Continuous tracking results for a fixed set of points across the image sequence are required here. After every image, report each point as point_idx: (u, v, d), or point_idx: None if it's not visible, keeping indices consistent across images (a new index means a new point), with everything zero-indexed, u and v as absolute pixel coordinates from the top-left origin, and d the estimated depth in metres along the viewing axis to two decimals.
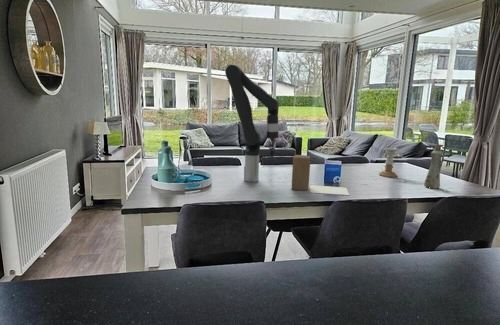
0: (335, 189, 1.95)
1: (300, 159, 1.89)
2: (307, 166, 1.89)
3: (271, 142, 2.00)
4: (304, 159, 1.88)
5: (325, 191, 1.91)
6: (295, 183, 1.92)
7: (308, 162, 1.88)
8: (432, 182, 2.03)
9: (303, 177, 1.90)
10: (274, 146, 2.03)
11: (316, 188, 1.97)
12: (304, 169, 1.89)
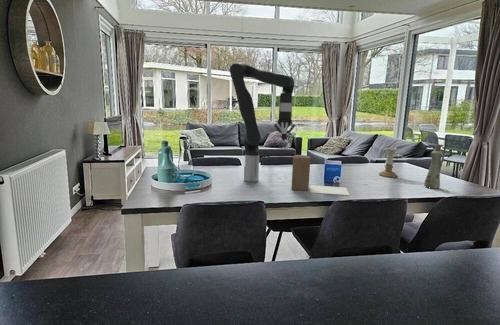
0: (335, 189, 1.95)
1: (300, 159, 1.89)
2: (307, 166, 1.89)
3: (294, 126, 1.91)
4: (304, 159, 1.88)
5: (325, 191, 1.91)
6: (295, 183, 1.92)
7: (308, 162, 1.88)
8: (432, 182, 2.03)
9: (303, 177, 1.90)
10: (287, 128, 1.93)
11: (316, 188, 1.97)
12: (304, 169, 1.89)
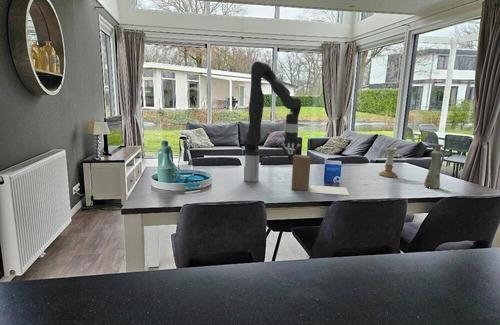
0: (335, 189, 1.95)
1: (300, 159, 1.89)
2: (307, 166, 1.89)
3: (300, 147, 1.92)
4: (304, 159, 1.88)
5: (325, 191, 1.91)
6: (295, 182, 1.92)
7: (308, 162, 1.88)
8: (432, 182, 2.03)
9: (303, 177, 1.90)
10: None
11: (316, 188, 1.97)
12: (304, 169, 1.89)
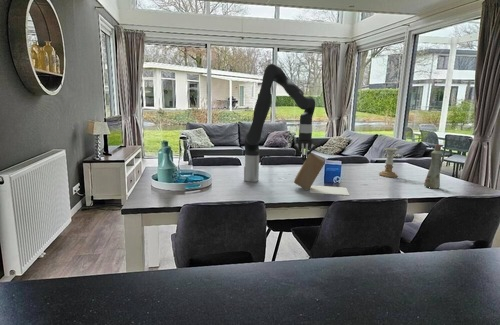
0: (335, 189, 1.95)
1: (315, 159, 1.87)
2: (319, 168, 1.88)
3: (314, 147, 1.91)
4: (319, 161, 1.87)
5: (325, 191, 1.91)
6: (300, 178, 1.91)
7: (321, 165, 1.87)
8: (432, 182, 2.03)
9: (310, 176, 1.89)
10: None
11: (316, 188, 1.97)
12: (314, 170, 1.88)
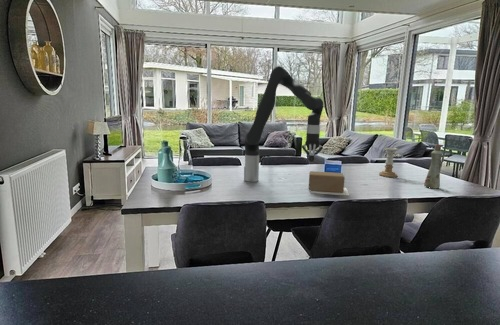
0: None
1: (342, 183, 1.87)
2: (334, 190, 1.88)
3: None
4: (342, 187, 1.87)
5: None
6: (317, 178, 1.89)
7: (339, 191, 1.88)
8: (432, 182, 2.03)
9: (323, 186, 1.89)
10: None
11: None
12: (331, 187, 1.88)
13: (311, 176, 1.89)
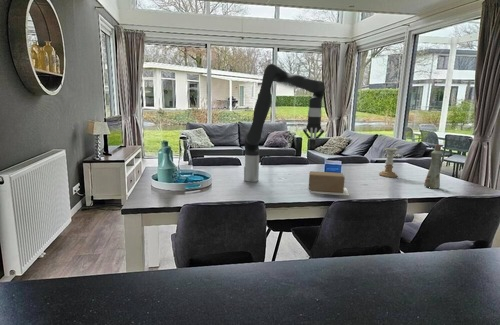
0: None
1: (342, 183, 1.87)
2: (334, 190, 1.88)
3: (323, 132, 1.88)
4: (342, 187, 1.87)
5: None
6: (317, 178, 1.89)
7: (339, 191, 1.88)
8: (432, 182, 2.03)
9: (323, 186, 1.89)
10: None
11: None
12: (331, 187, 1.88)
13: (311, 176, 1.89)
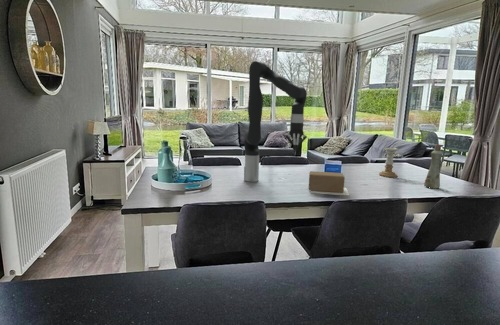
0: None
1: (342, 183, 1.87)
2: (334, 190, 1.88)
3: (306, 137, 1.91)
4: (342, 187, 1.87)
5: None
6: (317, 178, 1.89)
7: (339, 191, 1.88)
8: (432, 182, 2.03)
9: (323, 186, 1.89)
10: None
11: None
12: (331, 187, 1.88)
13: (311, 176, 1.89)
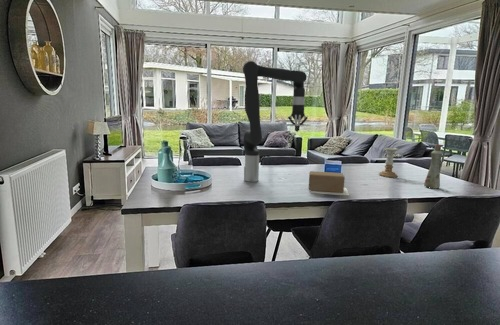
0: None
1: (342, 183, 1.87)
2: (334, 190, 1.88)
3: (306, 118, 2.06)
4: (342, 187, 1.87)
5: None
6: (317, 178, 1.89)
7: (339, 191, 1.88)
8: (432, 182, 2.03)
9: (323, 186, 1.89)
10: None
11: None
12: (331, 187, 1.88)
13: (311, 176, 1.89)
